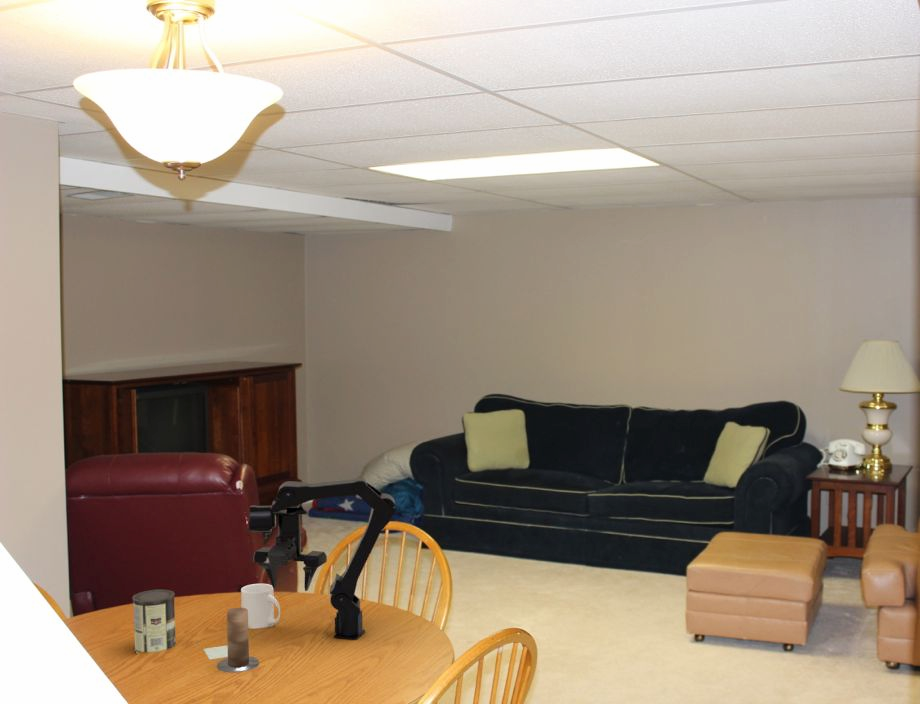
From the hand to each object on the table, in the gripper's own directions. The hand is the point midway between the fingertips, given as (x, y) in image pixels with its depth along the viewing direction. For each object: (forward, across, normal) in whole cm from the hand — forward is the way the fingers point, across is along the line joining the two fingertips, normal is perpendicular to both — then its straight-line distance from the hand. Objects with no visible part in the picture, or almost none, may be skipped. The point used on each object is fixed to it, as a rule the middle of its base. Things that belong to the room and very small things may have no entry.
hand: (290, 589), depth 265 cm
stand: (+13, -11, -16) cm, 24 cm away
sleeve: (+12, -3, -23) cm, 26 cm away
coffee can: (+13, -30, -17) cm, 37 cm away
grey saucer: (+13, -3, -23) cm, 26 cm away
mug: (+13, -11, +5) cm, 18 cm away
